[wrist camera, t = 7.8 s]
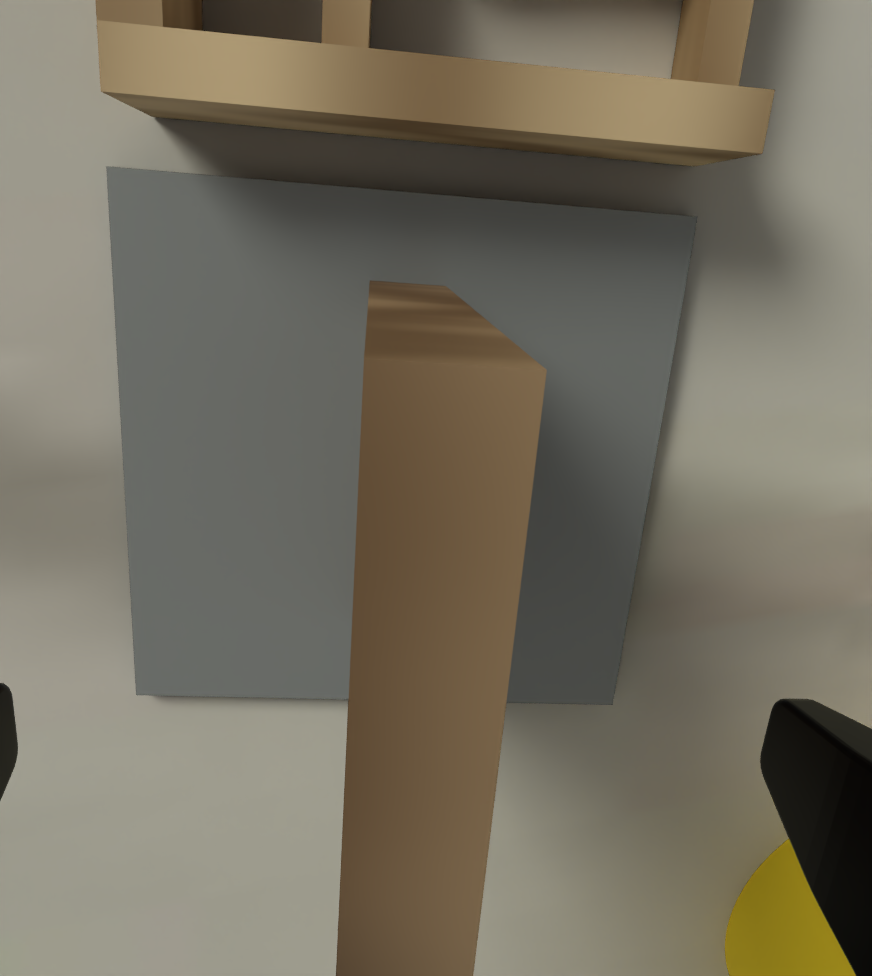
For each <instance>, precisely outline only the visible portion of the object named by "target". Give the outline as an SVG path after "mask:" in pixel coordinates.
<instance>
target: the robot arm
mask: <svg viewBox="0 0 872 976" xmlns="http://www.w3.org/2000/svg"><path fill="white" fill-rule="evenodd" d="M17 754H18V742H17V733H16V724H15V716H14V707H13V698H12V694H11V691H10V689H9V687H8V686H6V685H5V684H4V683H0V800H1V798H2V796H3V793H4V791H5V789H6V786H7V784H8V781H9V779H10V777H11V774H12V772H13V769H14V767H15V763H16V760H17ZM760 763H761V770H762V774H763V777H764V780H765V782H766V785H767V787H768V789H769V792H770V794H771V797H772V799H773V801H774V804H775V806H776V809H777V811H778V813H779V816H780V818H781V821H782V823H783V825H784V828H785V830H786V833H787V835H788V837H789V840H790V842H791V845H792V847H793V849H794V852H795V854H796V857H797V859H798V861H799V864H800V866H801V869H802V871H803V873H804V876H805V878H806V880H807V882H808V884H809V887H810V889H811V891H812V893H813V895H814V897H815V899H816V901H817V903H818V905H819V907H820V909H821V911H822V913H823V915H824V917H825V919H826V920H827V922H828V924H829V926H830V928H831V930H832V932H833V933H834V935H835V937H836V939H837V941H838V943H839V945H840V947H841V948H842V950H843V952H844V954H845V956H846V958H847V960H848V962H849V963H850V965H851V967H852V969H853V971H854V973H855V975H856V976H872V729H871V728H869V727H867V726H865V725H863V724H861V723H859V722H857V721H855V720H853V719H851V718H849V717H847V716H844V715H842V714H840V713H838V712H836V711H834V710H832V709H830V708H828V707H826V706H824V705H822V704H820V703H818V702H816V701H814V700H809V699H780V700H779V701H777V702H776V703H775V704H774V706H773V708H772V711H771V715H770V719H769V723H768V727H767V731H766V735H765V739H764V743H763V747H762V751H761V758H760Z"/></svg>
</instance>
